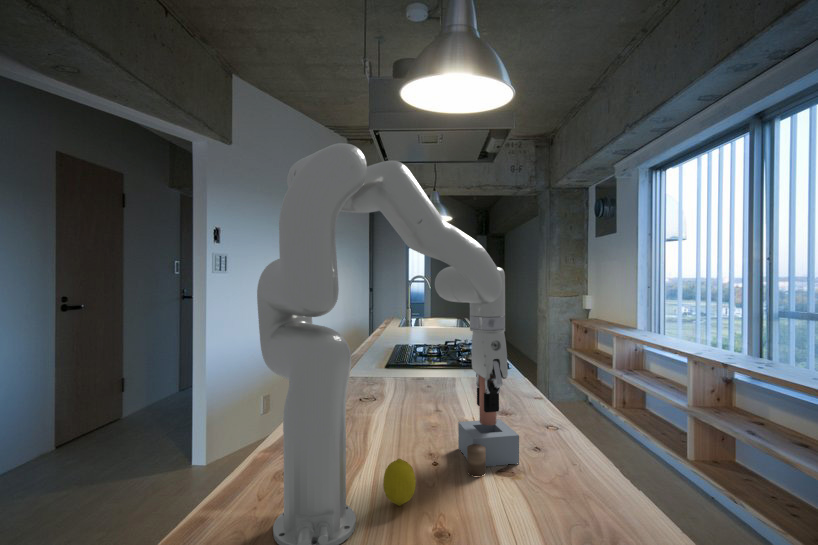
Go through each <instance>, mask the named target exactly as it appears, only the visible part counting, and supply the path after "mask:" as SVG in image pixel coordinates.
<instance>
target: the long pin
mask: <svg viewBox="0 0 818 545" xmlns="http://www.w3.org/2000/svg"><path fill="white" fill-rule="evenodd" d="M490 378H494V377H493V375H491V376H490ZM491 383H493V381H490V382H489V386H490V384H491ZM484 393H486V391H485V378H483V377H482V376H480V375H479V404H480V406H479V421H480V423H481V424H483V425H495V424H496V419H497V412H485V411H484Z"/></svg>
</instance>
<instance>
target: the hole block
mask: <svg viewBox="0 0 818 545" xmlns="http://www.w3.org/2000/svg"><path fill="white" fill-rule="evenodd" d="M457 427H458V429H457V430H458V431H457V432H458V433H457V434H458V437H457V438H458V444H457V445H458V448H459V449H460V450H461V451H460V450H459V449H458V448H457V449H458V450H459V451H460V452H462V453H463V454H464V455H463V454H462V453H461V454H462V455H463V457H464V456H465V457H466V458H467V447H468V446H469V445H472V444H478V445H482V446H484V447H485V448H486V466H493V467H497V466H496V465H504V466H509V465H508V464H515V465H520V435H519V434H518V433H517V432H516V431H515V429H513V428H511V427H510V426H509V425H508V424H507V423H506V422H504V421H503V419H501V418H499V419H498V418H496V424H495V425H483V424H481V423H480V420H469V421H458V426H457ZM465 457H464V458H465ZM466 458H465V459H466ZM517 463H518V464H517ZM505 464H506V465H505Z"/></svg>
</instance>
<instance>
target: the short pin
mask: <svg viewBox="0 0 818 545" xmlns="http://www.w3.org/2000/svg"><path fill="white" fill-rule="evenodd" d="M466 460H467V461H466V467H467V469H466V470H467V471H466V472H468V473H469V474H470V475H473V476H482V475H484V474H485V473H487V472H486V471H487V469H486V468H487V467H486V448H485V447H484V446H482V445H478V444H472V445H469V446H468V447H467V459H466ZM468 473H467V474H468ZM470 475H469V476H470ZM485 475H486V474H485Z"/></svg>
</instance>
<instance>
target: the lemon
mask: <svg viewBox="0 0 818 545" xmlns="http://www.w3.org/2000/svg"><path fill="white" fill-rule="evenodd" d="M382 481H383V482H382V484H383V491H384V494H385V496H386V498H387V499H388V500H389V502H391V503H393V504H395V505H396V506H399V507H401V506H403V505H404V504H406V503H408V502H409V501H410V500H411V499H412V498H413V496H414V494H415V491H416V485H417V484H416V474H415V472H414V469H413V467H412V465H411V464H410V463H409V462H408V461H406V460H404V459H402V458H397V459H396V460H394V461H392V462H391V463H389V464H388V465H387V467H386V468H385V471H384V475H383V480H382Z"/></svg>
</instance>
